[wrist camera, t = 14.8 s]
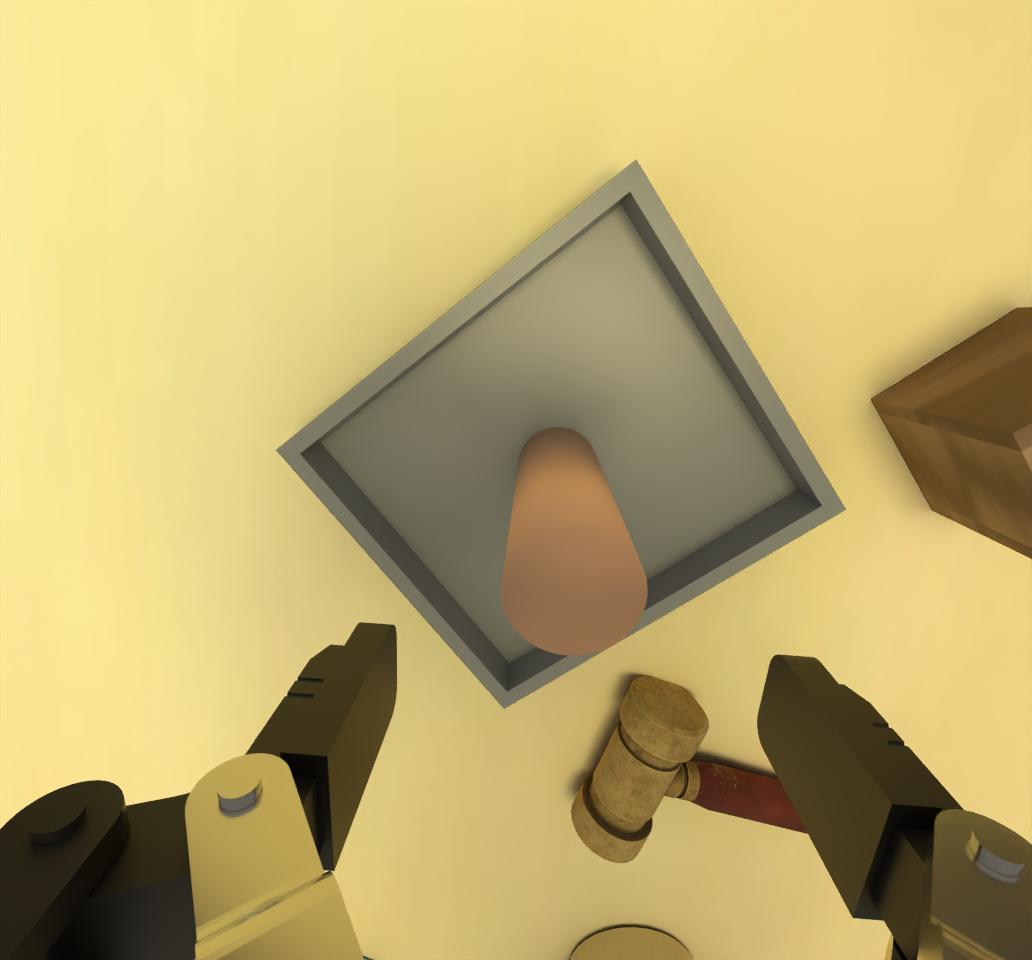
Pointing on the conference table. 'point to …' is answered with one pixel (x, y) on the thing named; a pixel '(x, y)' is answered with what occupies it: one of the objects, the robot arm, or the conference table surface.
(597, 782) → the gavel
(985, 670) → the conference table surface
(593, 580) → the dowel
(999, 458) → the holder
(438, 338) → the tray
